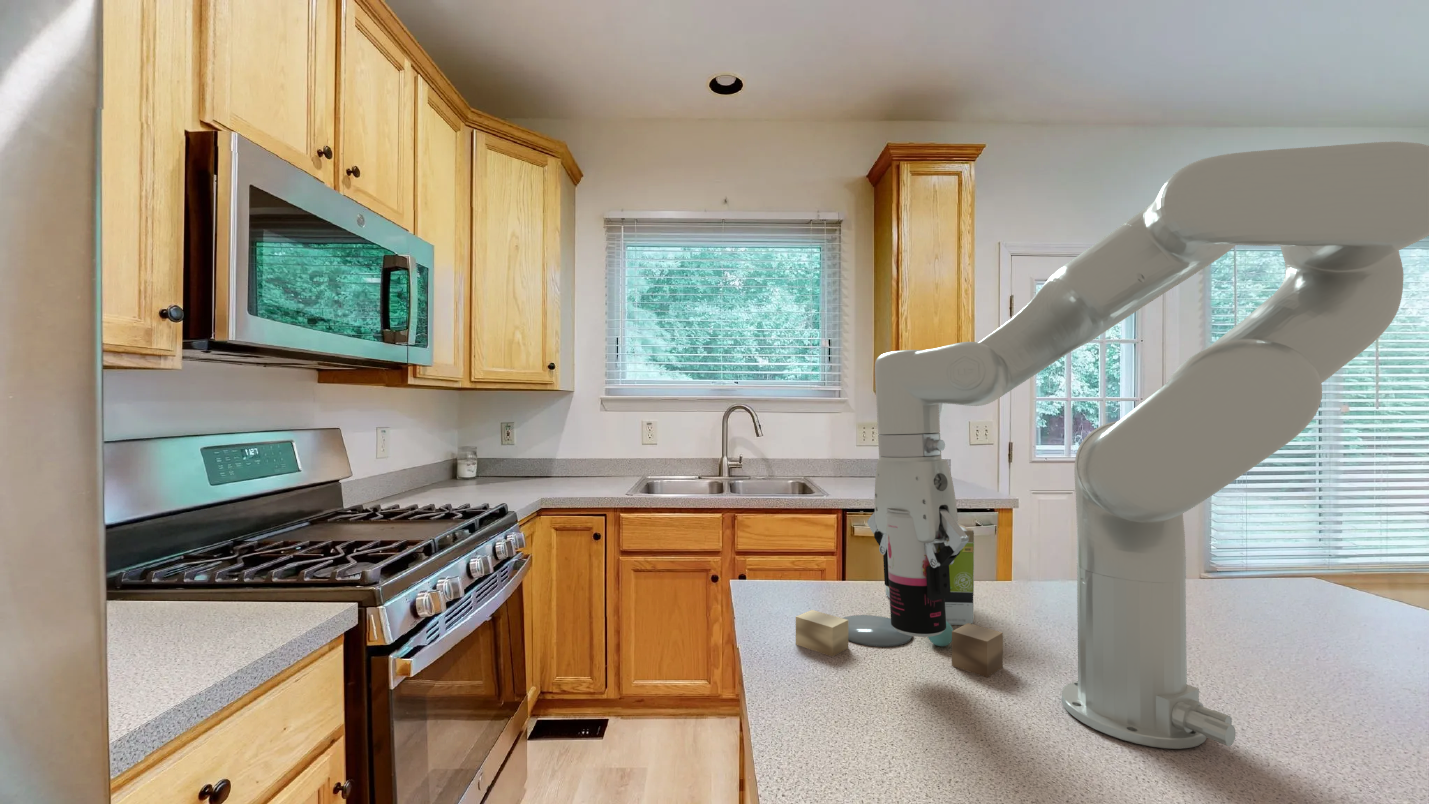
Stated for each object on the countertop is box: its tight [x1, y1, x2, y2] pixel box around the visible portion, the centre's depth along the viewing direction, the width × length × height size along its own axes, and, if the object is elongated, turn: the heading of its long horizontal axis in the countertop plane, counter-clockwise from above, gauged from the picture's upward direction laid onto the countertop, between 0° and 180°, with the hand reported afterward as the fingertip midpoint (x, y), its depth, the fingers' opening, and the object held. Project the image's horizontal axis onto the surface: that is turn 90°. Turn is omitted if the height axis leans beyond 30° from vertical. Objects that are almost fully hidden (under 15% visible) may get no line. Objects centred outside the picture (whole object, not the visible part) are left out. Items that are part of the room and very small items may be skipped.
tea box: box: [885, 523, 975, 626], centre depth 97 cm, size 15×10×15 cm, turn 179°
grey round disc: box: [842, 614, 913, 648], centre depth 87 cm, size 11×11×1 cm
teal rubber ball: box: [927, 621, 954, 647], centre depth 82 cm, size 4×4×4 cm
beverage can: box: [886, 508, 946, 638], centre depth 74 cm, size 6×6×15 cm
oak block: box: [795, 609, 849, 658], centre depth 82 cm, size 6×4×4 cm, turn 46°
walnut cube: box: [951, 623, 1004, 679], centre depth 75 cm, size 4×4×4 cm
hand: (916, 590), depth 73 cm, fingers closed on beverage can, 6 cm apart
